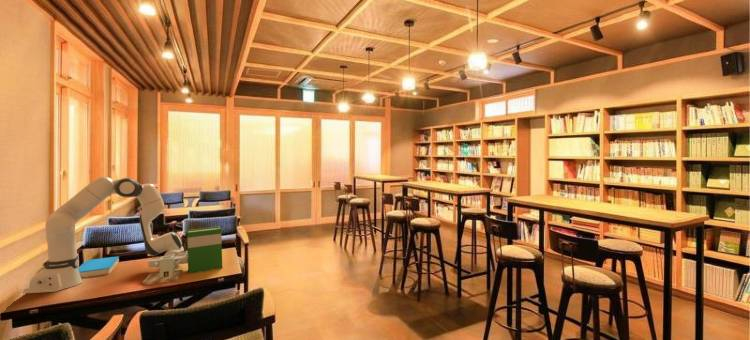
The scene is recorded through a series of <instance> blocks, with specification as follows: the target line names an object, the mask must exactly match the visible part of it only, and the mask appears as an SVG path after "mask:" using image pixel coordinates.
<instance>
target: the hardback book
mask: <svg viewBox="0 0 750 340" xmlns="http://www.w3.org/2000/svg"><path fill="white" fill-rule="evenodd" d="M222 241H223V240H222V228H221V227H220V226H212V227H211V226H210V227H201V228H195V229H186V243H187V244H186V245H187V246H186V249H187V250H186V251H187V252H188V261H189V263H187V271H188V274H189V275H191V274H197V273H201V272H207V271H208V272H209V271H214V270H218V269H223V244H222V243H223V242H222Z"/></svg>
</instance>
